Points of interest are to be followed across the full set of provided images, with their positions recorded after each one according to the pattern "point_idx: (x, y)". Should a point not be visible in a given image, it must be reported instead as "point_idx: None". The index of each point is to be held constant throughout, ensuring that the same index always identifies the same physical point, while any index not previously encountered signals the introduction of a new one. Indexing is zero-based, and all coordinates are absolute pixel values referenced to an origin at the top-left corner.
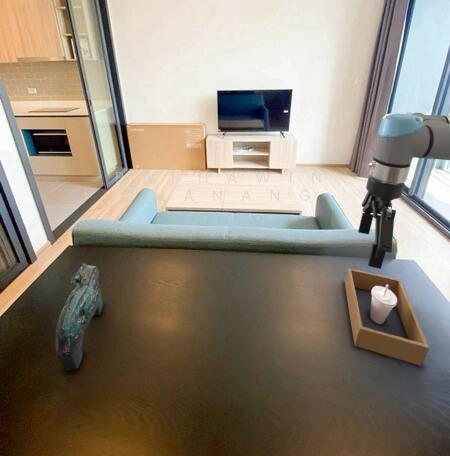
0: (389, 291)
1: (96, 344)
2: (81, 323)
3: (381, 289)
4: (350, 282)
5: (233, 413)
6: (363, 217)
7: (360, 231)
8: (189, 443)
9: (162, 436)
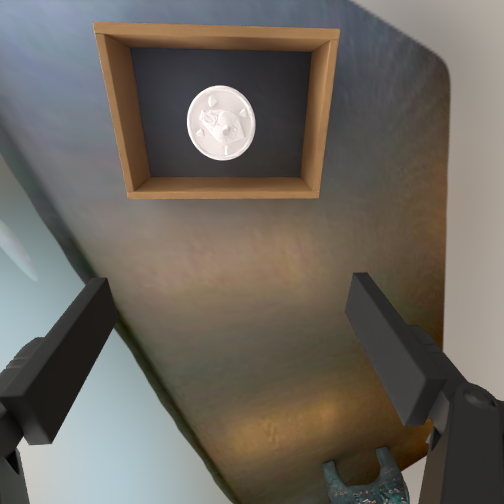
0: (199, 102)
1: (362, 447)
2: (388, 499)
3: (200, 128)
4: (181, 197)
5: None
6: (64, 409)
7: (113, 319)
8: None
9: None
